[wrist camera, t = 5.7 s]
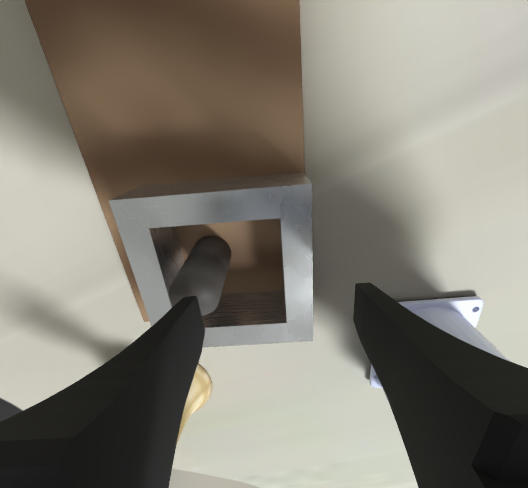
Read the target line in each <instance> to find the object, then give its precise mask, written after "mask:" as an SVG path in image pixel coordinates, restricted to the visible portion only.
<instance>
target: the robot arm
mask: <svg viewBox="0 0 528 488" xmlns="http://www.w3.org/2000/svg"><path fill="white" fill-rule="evenodd" d="M483 304H484V301H483V300H482V299H481V298H480V297H478V296H473V297H459V298H445V299H432V300H418V301H404V302H397V301H395V300H394V299H392V298H391V297H389V296H388V295H387V294H385V293H384V292H382V291H381V290H380V289H378V288H377V287H375V286H374V285H372V284H371V283H358V284H356V285H355V302H354V319H353V320H354V323H355V326H356V329H357V332H358V335H359V338H360V341H361V343H362V345H363V347H364V350H365V352H366V354H367V356H368V358H369V360H370V362H371V370H370V380H369V382H370V385H371V386H372V387H374V388H380V387H382V388H383V390H384V392H385V395H386V397H387V399H388V401H389V404H390V406H391V409H392V412H393V414H394V417H395V420H396V422H397V425H398V428H399V431H400V434H401V436H402V439H403V442H404V445H405V448H406V451H407V454H408V456H409V460H410V463H411V466H412V469H413V472H414V475H415V478H416V481H417V484H418V487H419V488H528V368H526V367H523V366H520V365H518V364H515V363H512V362H510V361H509V360H508V359H507V358H506V357H505V356H504V355H503V354H502V353H501V352H500V351H499V350H498V349H497V348H496V347H495V346H494V345H492V344H491V343H490V342H489V341H488V340H487V339H486V338H485V337H484V336H483V335H482V334H481V333H480V332H479V331H478V330H477V329H476V326H477V323H478V319H479V316H480V313H481V310H482V307H483ZM474 307H475V308H474ZM204 335H205V327H204V323H203V319H202V315H201V311H200V307H199V303H198V299H197V296H189V297H183V298H182V299H181V300H180V301H179V302H177V303H176V304H175V305H174V306H173V307H172V308H171V309H170V310H169V311H168V312H167V313H166V314H165V315H164V316H163V317H162V318H161V319H159V320H158V321H157V322H156V323H155V324H154V325H153V326H152V327H151V328H150V329H148V330H147V331H146V332H145V333H144V334H143V335H141V336H140V337H139V338H138V339H137V340H136V341H134V342H133V343H132V344H131V345H129V346H128V347H127V348H126V349H124V350H123V351H122V352H120V353H119V354H118V355H116V356H115V357H113V358H112V359H111V360H109V361H108V362H106V363H105V364H104V365H102V366H100V367H99V368H97V369H96V370H94V371H93V372H91V373H90V374H88V375H87V376H85V377H83V378H82V379H80V380H79V381H77V382H75V383H74V384H72V385H70V386H69V387H67V388H65V389H64V390H62V391H60V392H58V393H56V394H55V395H53V396H51V397H49V398H47V399H45V400H44V401H42V402H40V403H38V404H36V405H34V406H32V407H30V408H28V409H26V410H24V411H22V412H20V413H18V414H16V415H14V416H12V417H10V418H8V419H6V420H4V421H2V422H0V488H168V487H169V481H170V476H171V470H172V464H173V459H174V454H175V449H176V444H177V438H178V434H179V429H180V424H181V420H182V415H183V411H184V407H185V403H186V400H187V397H188V393H189V390H190V387H191V384H192V381H193V378H194V374H195V371H196V368H197V365H198V362H199V358H200V355H201V352H202V347H203V342H204Z"/></svg>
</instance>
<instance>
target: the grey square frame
mask: <svg viewBox="0 0 528 488" xmlns="http://www.w3.org/2000/svg"><path fill="white" fill-rule="evenodd" d="M109 204H110V207H111V209H112V212H113V215H114V218H115V221H116V224H117V227H118V230H119V233H120V236H121V239H122V242H123V244H124V247H125V250H126V253H127V256H128V259H129V262H130V265H131V268H132V271H133V274H134V277H135V280H136V282H137V285H138V288H139V291H140V294H141V297H142V300H143V303H144V306H145V309H146V312H147V315H148V317H149V320H150V323H151V326H153V325H154V324H155V323H156V322H157V321H158V320H159V319H161V318H162V317H163V316H164V315H165V314H166V313H167V312H168V311H169V310H170V309H171V308H172V307H173V304H172V303H171V301H170V298H169V288H170V285H171V284H172V282H173V280H174V279H175V277H176V275H177V274H178V272H179V270H180V269H181V267H182V265H183V264H184V258H183V254H182V250H181V245H180V241H179V237H178V233H177V229H176V226H185V225H198V224H211V223H224V222H237V221H250V220H263V219H276V218H279V229H280V245H281V261H282V277H283V290H277V291H261V292H246V293H231V294H221V296H220V300H219V303H218V306H217V307H216V309H215V310H214V311H213V312H211V313H209V314H207V315H204V316H202V319H203V323H204V327H205V335H204V342H203V347H217V346H235V345H253V344H270V343H288V342H305V341H313V253H312V183H311V182H310V181H309V179H308V178H307V177H306V176H305V174H304V173H303V172H296V173H284V174H272V175H261V176H249V177H237V178H225V179H213V180H202V181H190V182H178V183H166V184H154V185H143V186H138V187H136V188H134V189H132V190H130V191H128V192H126V193H124V194H121V195H119V196H117V197H115V198H113V199H111V200H109Z"/></svg>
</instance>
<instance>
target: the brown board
mask: <svg viewBox="0 0 528 488" xmlns="http://www.w3.org/2000/svg"><path fill="white" fill-rule="evenodd" d="M25 3H26V5H27V8H28V11H29V13H30V16H31V19H32V21H33V24H34V27H35V29H36V32H37V35H38V37H39V40H40V43H41V46H42V48H43V51H44V54H45V56H46V59H47V62H48V64H49V67H50V70H51V72H52V75H53V78H54V81H55V83H56V86H57V89H58V91H59V94H60V97H61V99H62V102H63V105H64V107H65V110H66V113H67V115H68V118H69V121H70V124H71V126H72V129H73V132H74V134H75V137H76V140H77V142H78V145H79V148H80V150H81V153H82V156H83V159H84V161H85V164H86V167H87V169H88V172H89V175H90V177H91V180H92V183H93V185H94V188H95V191H96V194H97V196H98V199H99V202H100V204H101V207H102V210H103V212H104V215H105V218H106V220H107V223H108V226H109V228H110V231H111V234H112V237H113V239H114V242H115V245H116V247H117V250H118V253H119V255H120V258H121V261H122V263H123V266H124V269H125V272H126V274H127V277H128V280H129V282H130V285H131V288H132V290H133V293H134V296H135V298H136V301H137V304H138V306H139V309H140V312H141V315H142V317H143V320H144V322H147V321H150V320H149V317H148V315H147V312H146V309H145V306H144V303H143V300H142V297H141V294H140V291H139V288H138V285H137V282H136V280H135V277H134V274H133V271H132V268H131V265H130V262H129V259H128V256H127V253H126V250H125V247H124V244H123V242H122V239H121V236H120V233H119V230H118V227H117V224H116V221H115V218H114V215H113V212H112V209H111V207H110V204H109V200H111V199H113V198H115V197H117V196H119V195H121V194H124V193H126V192H128V191H130V190H132V189H134V188H136V187H138V186H143V185H154V184H166V183H178V182H190V181H202V180H213V179H225V178H237V177H249V176H261V175H272V174H284V173H296V172H303V173H304V174H305V164H304V133H303V101H302V69H301V37H300V5H299V0H25ZM176 229H177V233H178V237H179V241H180V245H181V250H182V254H183V258H184V264H183V265H182V267H181V269H180V270H179V272H178V274H177V275H176V277H175V279H174V280H173V282H172V284H171V285H170V288H169V298H170V301H171V303H172V304H173V306H174V305H175V304H176V303H177V302H179V301H180V300H181V299H182V298H183V297H189V296H197V299H198V303H199V307H200V311H201V315H202V316H204V315H207V314H209V313H211V312H213V311H214V310H215V309H216V307H217V306H218V303H219V300H220V296H221V294H231V293H246V292H261V291H277V290H283V277H282V261H281V245H280V229H279V218H276V219H263V220H250V221H237V222H224V223H211V224H198V225H185V226H176Z"/></svg>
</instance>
